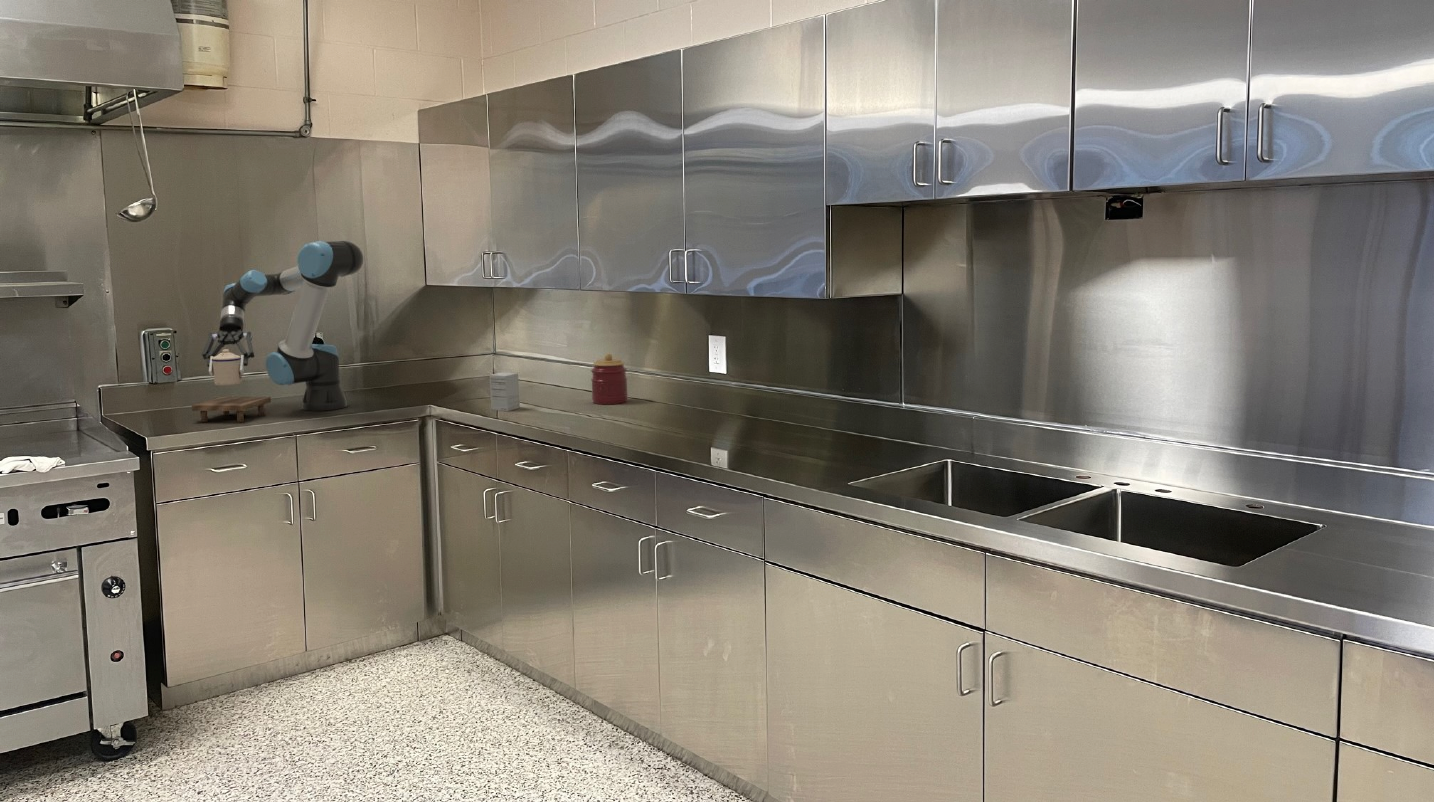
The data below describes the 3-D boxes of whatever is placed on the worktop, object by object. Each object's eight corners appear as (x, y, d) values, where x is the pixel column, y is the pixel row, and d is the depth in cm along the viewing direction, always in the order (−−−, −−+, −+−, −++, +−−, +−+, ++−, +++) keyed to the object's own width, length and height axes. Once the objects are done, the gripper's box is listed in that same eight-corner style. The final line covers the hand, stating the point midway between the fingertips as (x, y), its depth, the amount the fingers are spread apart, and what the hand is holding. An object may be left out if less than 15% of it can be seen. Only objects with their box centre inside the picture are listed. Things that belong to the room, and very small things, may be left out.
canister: (630, 399, 392) (629, 351, 389) (624, 405, 379) (622, 355, 376) (596, 399, 393) (594, 351, 390) (588, 405, 380) (586, 355, 377)
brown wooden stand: (272, 413, 373) (270, 396, 372) (243, 423, 355) (242, 405, 354) (223, 413, 375) (222, 396, 374) (193, 422, 358) (191, 405, 357)
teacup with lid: (246, 383, 362) (244, 349, 360) (219, 386, 356) (216, 351, 354) (234, 380, 371) (231, 346, 369) (206, 382, 365) (203, 349, 363)
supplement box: (503, 407, 379) (501, 371, 377) (520, 408, 376) (518, 372, 374) (490, 410, 373) (488, 374, 371) (507, 411, 369) (505, 375, 367)
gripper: (266, 327, 378) (262, 378, 365) (200, 330, 373) (194, 381, 360) (263, 314, 372) (258, 365, 359) (195, 316, 367) (188, 367, 354)
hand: (226, 373), depth 360 cm, fingers closed on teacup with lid, 9 cm apart
